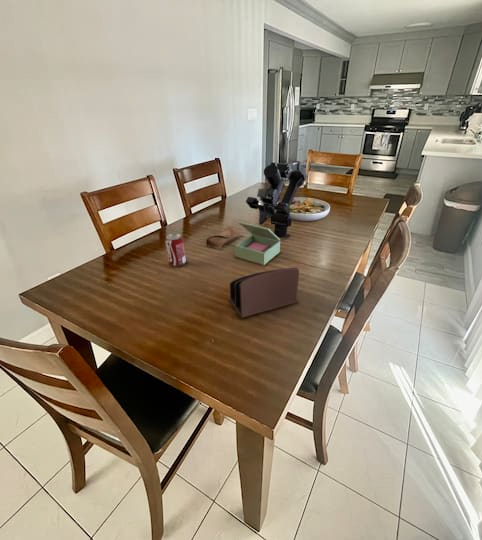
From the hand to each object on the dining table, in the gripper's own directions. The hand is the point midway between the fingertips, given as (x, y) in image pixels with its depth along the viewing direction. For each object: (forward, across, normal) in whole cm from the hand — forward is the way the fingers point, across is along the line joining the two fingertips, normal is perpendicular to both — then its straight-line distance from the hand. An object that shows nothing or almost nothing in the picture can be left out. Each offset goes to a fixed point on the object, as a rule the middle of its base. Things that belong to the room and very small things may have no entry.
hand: (260, 224), depth 120 cm
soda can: (+28, -24, -8) cm, 37 cm away
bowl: (-29, -5, +49) cm, 57 cm away
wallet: (+9, 0, +9) cm, 13 cm away
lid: (+3, 0, +2) cm, 3 cm away
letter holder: (+30, +19, -11) cm, 37 cm away
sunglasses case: (+8, -21, +11) cm, 25 cm away
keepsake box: (+11, 0, +8) cm, 14 cm away
